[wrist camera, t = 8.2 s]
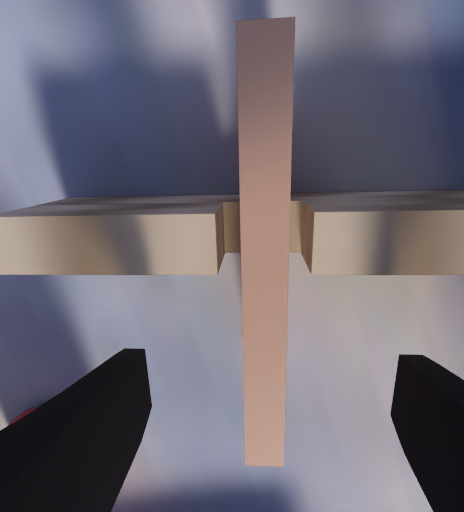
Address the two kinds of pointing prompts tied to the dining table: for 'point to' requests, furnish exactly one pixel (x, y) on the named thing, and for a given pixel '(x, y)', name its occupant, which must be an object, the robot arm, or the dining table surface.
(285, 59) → the tan thin board
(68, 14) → the dining table surface
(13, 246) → the slotted rail
